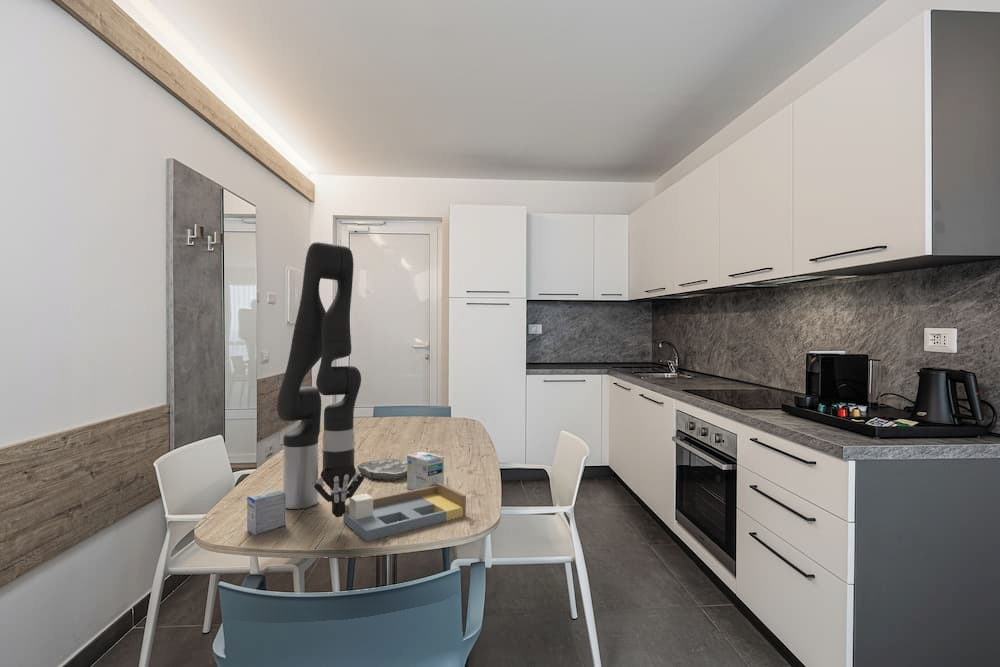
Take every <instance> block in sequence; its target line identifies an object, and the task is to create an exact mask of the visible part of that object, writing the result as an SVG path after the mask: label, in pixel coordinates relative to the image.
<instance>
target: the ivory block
mask: <svg viewBox="0 0 1000 667" xmlns="http://www.w3.org/2000/svg"><path fill="white" fill-rule="evenodd" d="M373 498H374V497H372V496H371V495H369V494H368V493H362V494H356V495H353V496H352V497H351V498H348V499H349V501H348V502H349V514H350V515H351V516H352V517H354V518H355V519H361V518H365V517H369V516H373Z"/></svg>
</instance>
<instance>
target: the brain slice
mask: <svg viewBox="0 0 1000 667" xmlns="http://www.w3.org/2000/svg"><path fill="white" fill-rule="evenodd" d="M356 468H357V470H358V471H359V472H360V474H361V475H362V474H363V475H362V476H365V475H366V476H365V477H367V476H368V477H367V478H369V477H370V479H373V478H374V479H373V480H377V479H379V480H378V481H388V480H394V481H398V480H399V479H402V477H403V478H407V477H406V476H407V460H401V459H397V458H392V459H379V460H373V461H365V462H363V463H360V464H358V465H357V466H356ZM382 479H383V480H382ZM397 479H398V480H397Z"/></svg>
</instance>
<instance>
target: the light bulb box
mask: <svg viewBox="0 0 1000 667" xmlns="http://www.w3.org/2000/svg"><path fill="white" fill-rule="evenodd" d="M406 461H407V477H406V488H407V489H410V490H411V491H412V490H417V489H421V488H426V487H431V486H435V482H439V483H441V484H443V485H445V475H444V474H445V470H444V469H445V457H444V456H442V455H438V454H433V453H430V452H425V451H418V452H412V453H407V454H406Z"/></svg>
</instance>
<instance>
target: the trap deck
mask: <svg viewBox="0 0 1000 667" xmlns="http://www.w3.org/2000/svg"><path fill="white" fill-rule="evenodd" d="M466 496H467V495H466V494H464V493H461V492H460V491H458V490H455V489H454V488H451V487H449V486H447V485H445V484H444V485H443V484H441V483H439V482H435V486H431V487H426V488H421V489H417V490H412V489H411V490H407V491H403V492H398V493H393V494H388V495H383V496H379V497H378V496H377V497H372V498H373V516H369V517H365V518H361V519H355V518H354V517H352V516H351V515H350V514H349V503H345V513H344V514H343V516H342V521H344V522H345V523H346V524H347V525H346V524H345V523H344V522H343V523H344V524H345V525H346V526H348V527H349V529H351V528H352V529H353V530H354V531H353V530H352V529H351V530H352V531H353V532H355V534H357V535H358V536H359V537H360V536H361V537H360V538H361V539H363V540H364V541H365V542H369V540H370V541H374V540H377V539H382V538H386V537H390V536H393V535H396V533H397V534H401V533H404V532H405V533H406V532H408V531H413V530H416V528H417V529H419V528H420V527H421V528H423V526H424V527H428V526H432V525H437V524H439V523H443V522H444V523H445V522H448V521H451V519H452V520H455V518H456V519H458V517H460V518H464V517H466V512H467V511H466V510H467V507H466V506H467V505H466V503H467V500H466V498H467V497H466ZM397 521H398V522H397ZM431 524H432V525H431ZM427 525H428V526H427ZM421 528H420V529H421ZM412 529H413V530H412ZM400 532H401V533H400ZM392 534H393V535H392ZM385 536H386V537H385Z"/></svg>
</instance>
